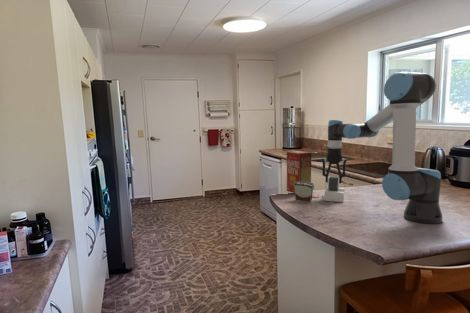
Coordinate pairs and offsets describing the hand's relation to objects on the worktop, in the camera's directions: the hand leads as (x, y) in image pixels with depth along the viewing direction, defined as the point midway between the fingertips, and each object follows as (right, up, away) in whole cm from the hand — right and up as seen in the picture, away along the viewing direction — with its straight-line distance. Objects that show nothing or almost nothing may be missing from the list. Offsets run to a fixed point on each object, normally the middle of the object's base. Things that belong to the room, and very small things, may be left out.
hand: (333, 188), depth 181 cm
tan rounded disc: (-10, -5, +5) cm, 12 cm away
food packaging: (-17, -4, +16) cm, 24 cm away
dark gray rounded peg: (0, -5, +1) cm, 5 cm away
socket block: (+1, -6, 0) cm, 6 cm away
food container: (-16, -6, -3) cm, 18 cm away
